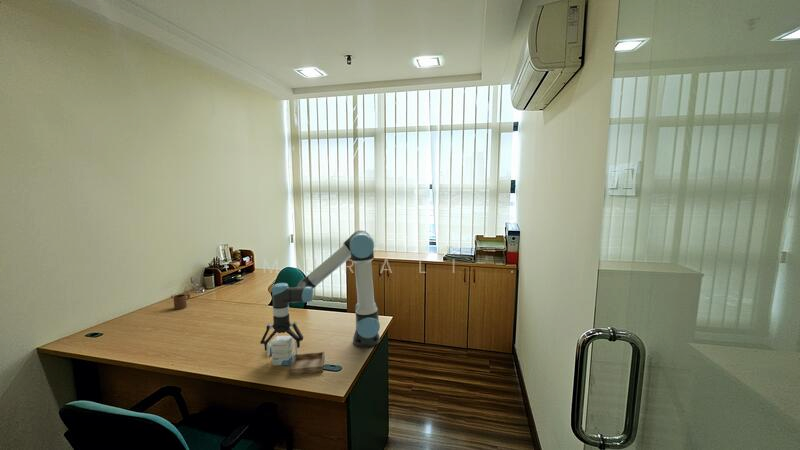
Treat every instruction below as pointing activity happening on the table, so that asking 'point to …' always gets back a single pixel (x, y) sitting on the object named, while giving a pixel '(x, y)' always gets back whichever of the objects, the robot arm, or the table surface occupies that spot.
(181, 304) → the mug
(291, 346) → the ink box
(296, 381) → the table surface
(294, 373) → the tray
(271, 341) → the grey rectangular block
